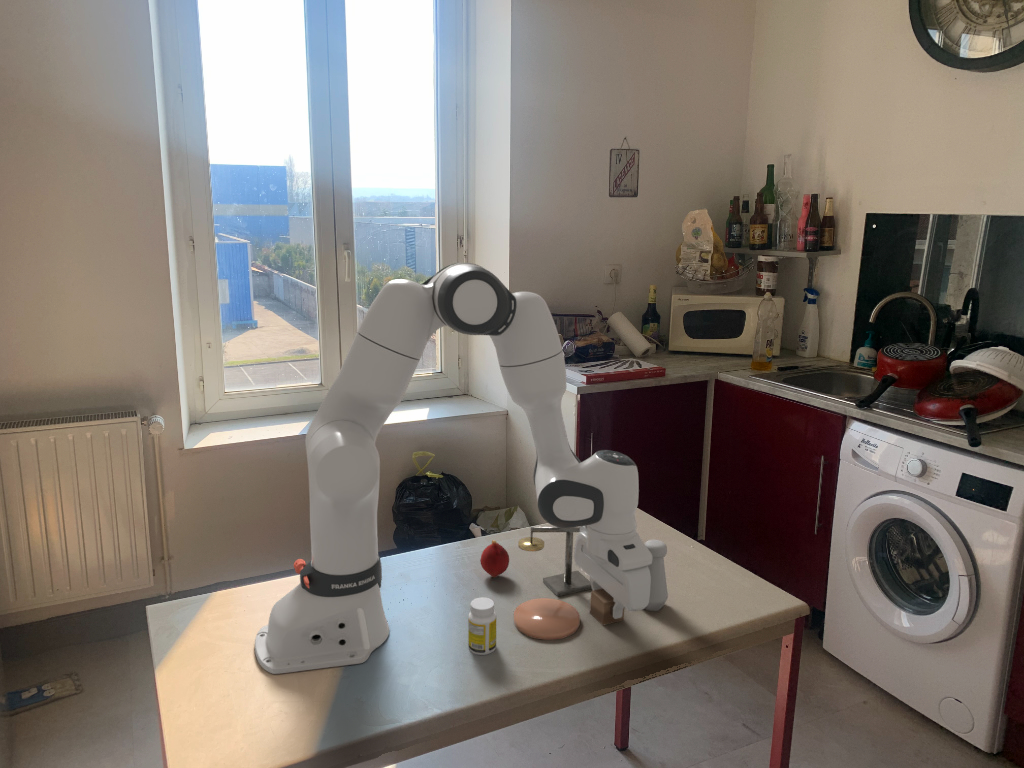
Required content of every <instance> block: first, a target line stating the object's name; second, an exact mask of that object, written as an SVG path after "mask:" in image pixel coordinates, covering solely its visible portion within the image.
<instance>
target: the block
mask: <svg viewBox="0 0 1024 768" xmlns="http://www.w3.org/2000/svg"><path fill="white" fill-rule="evenodd" d="M613 600H614V598H613V597H612V596H611V595H610V594H609V593H608V592H606V591H605V590H604V589H598V590H594V591H593V590H591V591H590V607H589V608H590V610H589V613H590V615H592V617H593V618H595V620H597V621H598V622H599V623H600V624H601V625H602V626H605V625H609V624H613V623H617V622H621V621H624V620H625V609H626V608H625V607H624V608H623V614H622V617H621V618H618V619H615V618H613V617H612V616H611V615H610V607H611V606H614V605H615V602H614V601H613Z"/></svg>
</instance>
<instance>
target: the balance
mask: <svg viewBox="0 0 1024 768" xmlns="http://www.w3.org/2000/svg"><path fill="white" fill-rule="evenodd" d="M534 533H565V549H564V551H565V553H564V554H565V555H564V573H560V574H554V575H550V576H545V577H542V583H543V584H544V585H545V586H546V587H547V588H548V589H549V590H550V591H551V592H552V593H553V594H554V595H555V596H556V597H560V596H566V595H569V594H573V593H578V592H583V591H586V590H587V591H588V590H592V587H591V583H590V579H588V578H587V577H586V576H585V575H583V574H582V573H581V572H580V571H579V570H574V571H573V569H572V568H573V551H574V548H573V546H574V533H580V526H579V527H571V528H559V527H555V526H531V527H530V536H527V537H523V538H521V539H519V540H518V543H517V545H518V548H519V549H520V550H522V551H526V552H539V551H541V550H544V548H545V541H544V540H543V539H541V538H538V537H537V536H536V537H534V536H533V535H534Z"/></svg>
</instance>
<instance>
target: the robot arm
mask: <svg viewBox="0 0 1024 768" xmlns="http://www.w3.org/2000/svg"><path fill="white" fill-rule="evenodd" d="M555 323H556V322H555V320H554V318H553V315H552V313H551V310H550V308H549V306H548V304H547V302H546V301H545V299H544V298H543V297H542V296H541V295H540V294H538V293H536V292H531V291H516V292H511V291H510V290H509V289H508V287H506V286H505V284H504V283H503V282H502V281H501V280H500V279H499V278H498V277H497V276H496V275H495V274H494V273H493V272H492V271H490V270H488V269H487V268H485V267H483V266H481V265H479V264H476V263H473V262H472V263H471V262H457V263H452V264H450V265H447V266H444V267H443V268H441V269H440V270H439V271H437V272H436V273H435V274H434V275H432V276H431V277H429V278H428V279H427V280H425V281H423V282H422V283H419V282H416V281H413V280H411V279H405V278H403V279H402V278H399V279H398V278H396V279H392V280H390V281H388V282H387V283H385V284H384V285H383V287H381V290H379V292H378V294H377V295H376V296H375V298H374V299H373V301H372V303H371V304H370V306H369V307H368V310H367V311H366V313H365V315H364V316H363V318H362V320H361V323H360V325H359V327H358V329H357V331H356V333H355V336H354V338H353V340H352V343H351V345H350V347H349V350H348V351H347V354H346V356H345V358H344V360H343V362H342V365H341V367H340V370H339V372H338V373H337V374H338V375H337V376H336V377H335V379H334V381H333V383H332V385H331V386H330V388H329V389H328V391H327V393H326V395H325V397H324V399H323V400H322V402H321V404H320V406H319V407H318V410H317V411H316V413H315V415H314V418H313V419H312V421H311V423H310V425H309V427H308V429H307V432H306V434H305V441H304V442H305V443H304V444H305V452H306V459H307V460H306V461H307V470H308V471H307V472H308V489H309V490H308V491H309V493H308V495H309V526H310V527H309V528H310V531H309V532H310V550H311V551H310V552H311V559H310V560H309V562H307V563H306V561H305V560H304V559H302V558H297V559H296V560H295V561H294V563H293V567H294V571H295V573H296V574H298V575H299V581H300V583H299V584H297V585H296V586H295V587H294V588H293V589H291V590H290V591H289V592H287V593H286V594H285V595H283V597H281V598H280V599H279V600H277V601H276V602H275V603H273V606H272V608H271V610H270V613H269V618H268V624H266V625H263V626H262V627H261V628H260V629H259V630H258V632H257V633H256V636H255V639H254V653H255V657H256V660H257V662H258V664H259V666H261V668H262V669H263V670H265V671H266V672H268V673H270V674H272V675H279V674H286V673H293V672H294V673H295V672H301V671H310V670H312V671H313V670H319V669H326V668H334V667H341V666H349V665H359V664H362V663H364V662H366V661H367V660H368V659H369V657H370V656H371V654H372V652H373V651H374V650H376V649H377V648H379V647H380V646H381V645H382V644H383V643H384V642H386V640H387V638H388V637H389V634H390V625H389V623H388V621H387V617H386V615H385V610H384V605H383V601H382V599H383V598H382V594H381V588H382V580H383V576H382V573H383V569H382V567H383V566H382V562H381V557H380V556H379V547H378V544H379V543H378V542H379V541H378V540H379V539H378V509H379V508H378V507H379V496H380V495H379V493H380V480H381V479H380V476H381V468H380V467H381V459H380V453H379V451H378V448H377V446H376V442H377V438H378V435H379V434H380V431H381V430H382V428H383V426H384V424H385V423H386V422H387V420H388V419H389V417H390V415H392V413H393V411H394V410H395V409H396V408H397V407H398V406H399V405H400V404H401V403H402V400H403V399H404V396H405V394H406V391H407V390H408V387H409V385H410V383H411V380H412V378H413V376H414V374H415V371H416V370H417V368H418V365H419V363H420V362H421V361H420V360H421V359H422V356H423V353H424V352H425V349H426V345H427V344H428V342H429V340H430V339H431V338H432V336H433V335H434V334H435V332H437V331H438V330H439V329H441V328H443V327H446V326H447V327H449V328H450V329H452V330H454V331H455V332H458V333H461V334H463V335H469V336H489V338H490V339H491V341H492V343H493V346H494V347H495V352H496V357H497V360H498V365H499V369H500V373H501V376H502V379H503V382H504V385H505V387H506V389H507V392H508V394H509V396H510V397H511V400H512V402H513V403H515V404H516V405H517V406H519V407H520V408H521V409H523V411H524V413H525V414H526V417H527V419H528V423H529V427H530V431H531V435H532V438H533V443H534V446H535V451H536V460H535V464H534V468H533V476H532V478H533V485H534V488H535V493H536V501H537V509H538V512H539V514H540V516H541V517H542V518H543V520H545V522H546V523H548V524H549V525H551V526H552V527H559V528H571V527H580V532H577V535H576V539H575V543H574V550H573V551H574V553H573V559H574V563H575V566H576V567H578V568H579V569H580V570H581V571H582V572H584V573H585V575H586V576H588V577H589V581H590V583H591V587H592V589H591V591H594V590H598V589H604V590H605V591H606V592H608V593H609V594H610V595H611V596H612V597H613V598H614V600H613V601H614V602H615V605H614V606H611V607H610V615H611V616H612V617H613V618H615V619H618V618H621V617H622V614H623V608H624V607H625V609H626V610H627V611H628V612H637V611H641V610H644V609H645V607H646V606H647V605H648V603H649V597H650V583H651V576H650V571H649V568H648V566H647V565H650V564H652V554H651V552H650V551H649V550H648V548H647V547H646V546H645V542H644V541H643V540H642V538H641V536H640V534H639V533H638V532H637V528H638V527H637V526H638V525H637V524H638V523H637V519H636V512H637V511H636V510H637V507H638V505H639V492H640V489H639V485H640V484H639V481H640V480H639V472H638V471H639V470H638V466H637V464H636V463H635V461H634V460H633V459H631V458H630V456H628V455H626V454H623V453H622V452H619V451H614V450H608V449H601V450H597V451H596V452H595V453H594V454H593V455H591V456H590V457H588V458H587V459H585V460H583V461H581V459H579V457H578V456H577V454H576V453H574V451H573V450H572V448H571V446H570V442H569V440H568V439H569V438H568V435H567V430H566V426H565V422H564V417H563V413H562V401H563V400H562V399H563V396H564V395H565V393H566V391H567V369H566V361H565V356H564V351H563V347H562V342H561V339H560V336H559V335H560V334H559V333H558V329H557V326H556V324H555Z"/></svg>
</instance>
